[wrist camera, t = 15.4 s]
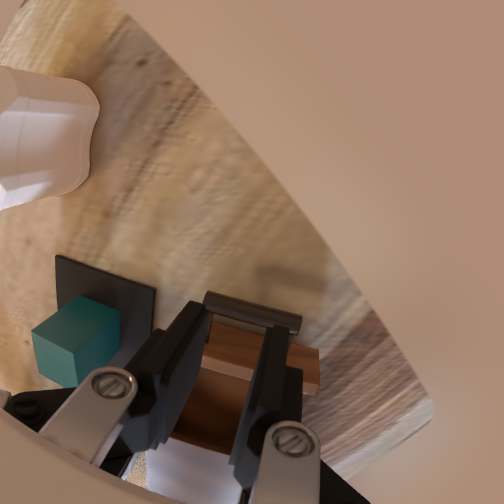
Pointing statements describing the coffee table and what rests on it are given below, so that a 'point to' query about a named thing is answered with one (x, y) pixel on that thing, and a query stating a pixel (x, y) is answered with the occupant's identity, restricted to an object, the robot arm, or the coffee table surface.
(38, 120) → the jar
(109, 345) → the box
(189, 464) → the cabinet
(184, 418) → the drawer
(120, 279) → the mat
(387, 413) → the coffee table surface
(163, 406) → the robot arm
